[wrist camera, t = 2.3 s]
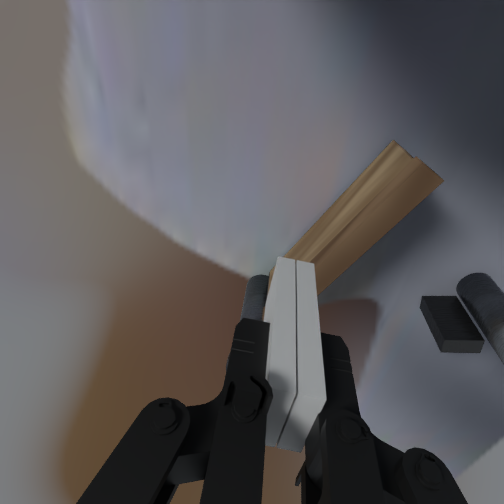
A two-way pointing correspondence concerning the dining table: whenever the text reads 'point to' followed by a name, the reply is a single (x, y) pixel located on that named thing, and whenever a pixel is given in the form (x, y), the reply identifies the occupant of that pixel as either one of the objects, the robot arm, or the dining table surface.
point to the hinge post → (254, 299)
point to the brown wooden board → (364, 214)
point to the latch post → (467, 316)
